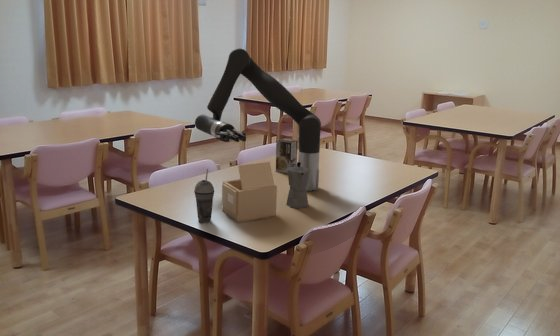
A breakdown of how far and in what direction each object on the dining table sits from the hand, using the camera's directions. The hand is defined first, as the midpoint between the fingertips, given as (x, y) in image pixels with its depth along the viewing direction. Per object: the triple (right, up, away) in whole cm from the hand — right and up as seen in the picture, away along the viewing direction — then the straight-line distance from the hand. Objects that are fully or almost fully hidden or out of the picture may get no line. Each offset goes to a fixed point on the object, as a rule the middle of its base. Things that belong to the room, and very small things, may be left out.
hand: (241, 139), depth 194 cm
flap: (+7, -19, -8) cm, 22 cm away
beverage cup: (-13, -31, -8) cm, 34 cm away
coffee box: (+18, -13, +63) cm, 66 cm away
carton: (+3, -29, +1) cm, 29 cm away
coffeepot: (+22, -26, +14) cm, 37 cm away
